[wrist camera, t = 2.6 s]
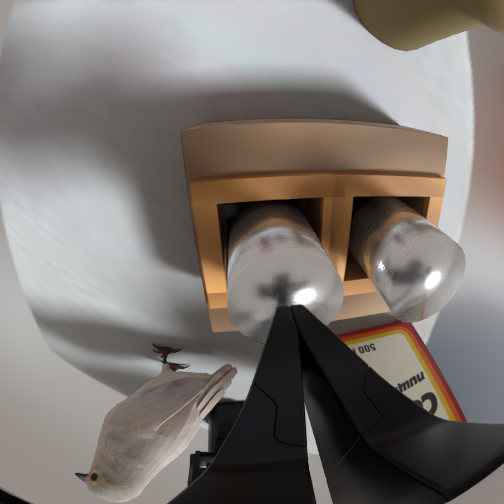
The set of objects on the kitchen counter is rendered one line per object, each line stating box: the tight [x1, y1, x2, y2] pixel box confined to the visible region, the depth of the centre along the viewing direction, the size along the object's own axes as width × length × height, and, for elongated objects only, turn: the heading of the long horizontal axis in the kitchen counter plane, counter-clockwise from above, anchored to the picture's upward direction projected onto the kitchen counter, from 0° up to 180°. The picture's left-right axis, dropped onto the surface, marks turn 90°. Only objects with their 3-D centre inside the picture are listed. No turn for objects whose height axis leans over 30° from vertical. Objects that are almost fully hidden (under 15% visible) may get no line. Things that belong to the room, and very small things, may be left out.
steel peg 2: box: [348, 196, 465, 322], centre depth 11 cm, size 4×4×5 cm
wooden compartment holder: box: [181, 118, 448, 332], centre depth 15 cm, size 11×13×5 cm
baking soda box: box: [337, 321, 467, 422], centre depth 18 cm, size 10×6×16 cm
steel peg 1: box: [227, 200, 344, 344], centre depth 11 cm, size 4×4×5 cm
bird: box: [75, 344, 237, 503], centre depth 17 cm, size 5×14×15 cm, turn 97°
